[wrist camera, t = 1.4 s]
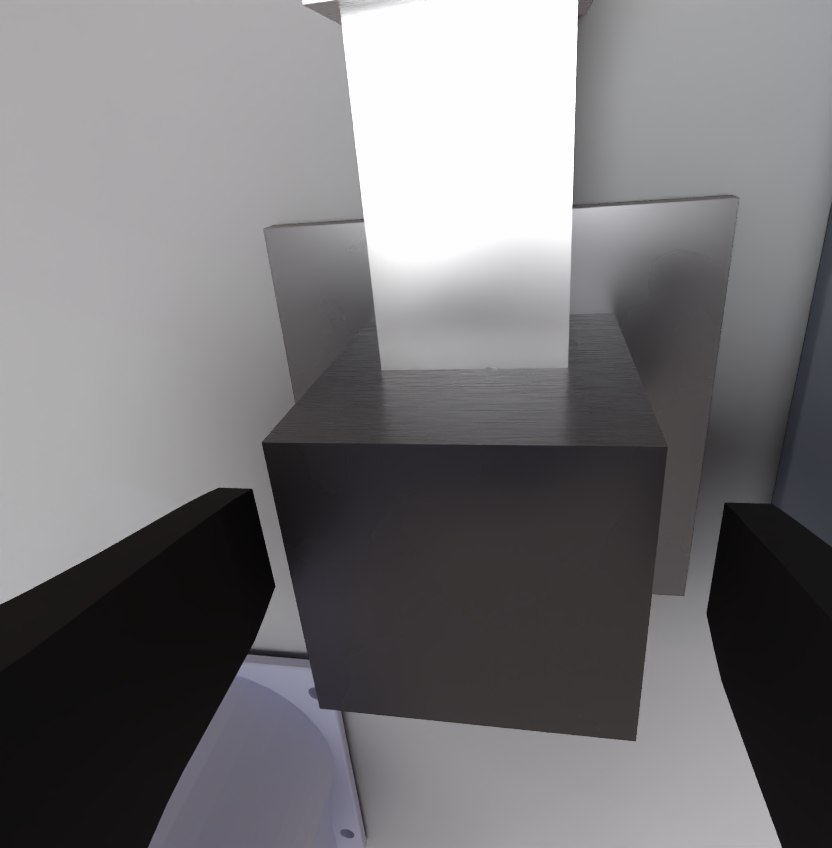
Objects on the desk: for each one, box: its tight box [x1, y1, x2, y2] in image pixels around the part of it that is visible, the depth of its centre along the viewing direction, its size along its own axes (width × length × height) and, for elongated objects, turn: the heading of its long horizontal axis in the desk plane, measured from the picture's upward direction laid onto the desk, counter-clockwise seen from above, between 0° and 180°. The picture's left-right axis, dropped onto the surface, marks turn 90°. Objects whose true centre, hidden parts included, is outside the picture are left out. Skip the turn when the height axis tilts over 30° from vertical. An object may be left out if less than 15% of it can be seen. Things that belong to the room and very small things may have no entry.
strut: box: [262, 0, 668, 741], centre depth 10 cm, size 11×5×6 cm, turn 5°
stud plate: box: [263, 195, 739, 596], centre depth 12 cm, size 9×9×5 cm
